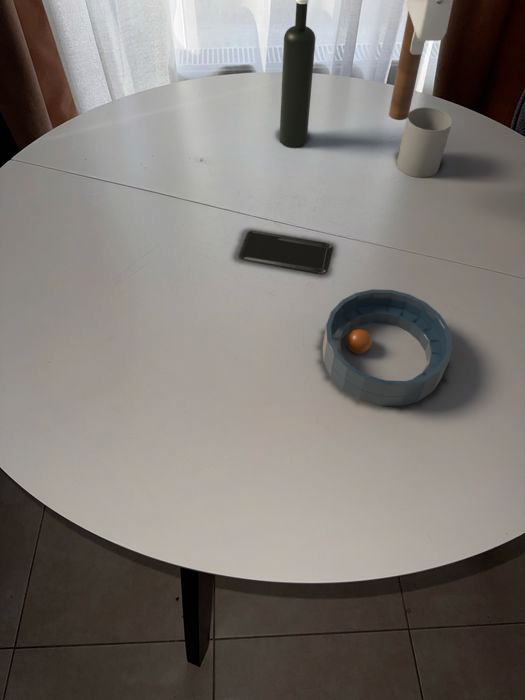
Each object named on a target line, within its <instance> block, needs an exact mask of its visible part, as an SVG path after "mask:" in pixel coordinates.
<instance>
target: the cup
mask: <svg viewBox="0 0 525 700" xmlns="http://www.w3.org/2000/svg"><path fill="white" fill-rule="evenodd" d="M405 120H406V121H405V125H404V128H403V133H402V136H401V137H402V138H401V142H400V147H399V151H398V155H397V159H396V165H397V168H398V170H400V171H401V172H402V173H403V174H405V175H408V176H410V177H412V178H419V179H420V178H421V179H423V178H429V177H433V176H434V175H436V174H438V171H439V168H440V165H441V163H442V159H443V156H444V152H445V148H446V145H447V141H448V138H449V134H450V131H451V128H452V125H453V119H452V117H451V116H450V115H449V114H448V113H447V112H445V111H443V110H440V109H438V108H435V107H425V106H423V107H417V108H413V109H411V110H409V115H408V118H407V119H405Z"/></svg>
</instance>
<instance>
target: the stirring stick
mask: <svg viewBox="0 0 525 700" xmlns="http://www.w3.org/2000/svg"><path fill="white" fill-rule="evenodd" d="M413 33H414V26H413V23H412V20H411V17H410V14H409V11H408V15H407V14H406V21H405V27H404V32H403V37H402V42H401V48H400V54H399V58H398V64H397V69H396V73H395V78H394V84H393V89H392V93H391V94H392V95H391V101H390V105H389V110H388V117H390V118H391V119H393V120H396V121H404V120H406V119H407V118H408V115H409V112H410V111H411V106H412V102H413V96H414V92H415V87H416V82H417V78H418V73H419V70H420V64H421V59H422V55H423V52H422V53H421V54H420V55H415V54H411V52H410V49H409V46H410V41H411V38H412V37H413Z"/></svg>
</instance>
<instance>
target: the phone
mask: <svg viewBox="0 0 525 700" xmlns="http://www.w3.org/2000/svg"><path fill="white" fill-rule="evenodd" d="M332 249H333V247H332V245H331V244H330V243H328V242H325V241H318V240H312V239H307V238H302V237H301V238H300V237H295V236H290V235H284V234H279V233H278V234H277V233H273V232H272V233H271V232H266V231H261V230H255V229H254V230H253V229H251V230H248V231H246V234H245V236H244V239H243V241H242V244H241V247H240V249H239V252H238V254H237V255H238V256H237V257H238V259H239V260H240V261H243V262H247V263H252V264H259V265H264V266H271V267H275V268H282V269H287V270H293V271H297V272H303V273H308V274H315V275H323V274H325V273H326V272H327V270H328V265H329V262H330V259H331V258H330V257H331V254H332Z"/></svg>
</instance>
